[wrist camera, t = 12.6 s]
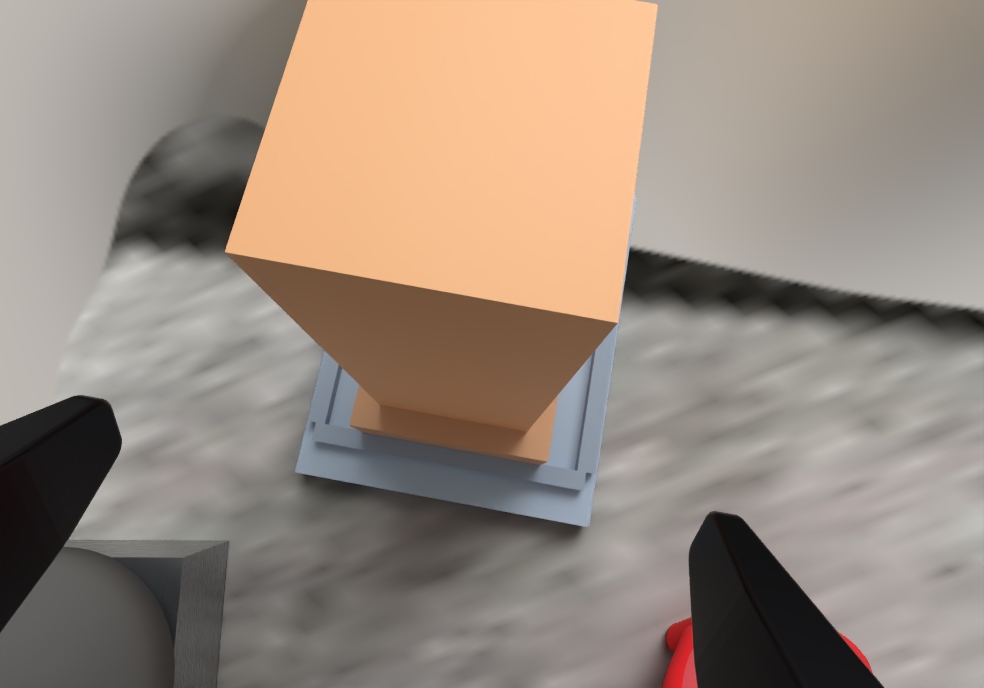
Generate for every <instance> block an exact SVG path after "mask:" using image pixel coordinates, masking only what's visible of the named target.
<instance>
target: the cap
mask: <svg viewBox="0 0 984 688" xmlns="http://www.w3.org/2000/svg"><path fill="white" fill-rule="evenodd" d="M838 633H839V632H838ZM839 634H840V635H841V636H842V638H843V639H844V640H845V641H846V642H847V644H848V645H849V646H850V647H851V648H852V650H853V651H854V652H855V653H856V654H857V656H858V657H859V658H860V659H861V660H862V661H863V663H864V664H865V665H866V666H867V667H868V669H869V670H870V671H871V672H872V670H871V667H870V664H869V662H868V660H867V659H866V657H865V656H864V655H863V654H862V652H861V651H860V650H859V649H858V648H857V646H856V645H855V644H853V643H852V642H851V641H850V640H849V639H848V638H846V637H845V636H843V635H842V634H841V633H839ZM666 640H667V644H668V647H669V648H670V649H671V650H672V651H674V654H673V657H672V659H671V661H670V664H669V666H668V669H667V672H666V675H665V678H664V682H663V686H662V688H698V687H697V680H696V672H695V665H694V652H693V636H692V617H691V618H688V619H686V620H683V621H681V622H678V623H675V624H673V625H671V627H670V628H669V629H668V632H667V636H666Z"/></svg>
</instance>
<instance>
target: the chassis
mask: <svg viewBox="0 0 984 688" xmlns="http://www.w3.org/2000/svg"><path fill="white" fill-rule="evenodd" d="M636 200H637V195H634V200H633V208H632V216H631V224H630V232H629V240H628V248H627V256H626V263H625V271H624V279H623V287H622V295H621V303H622V296H623V289H624V282H625V276H626V269H627V262H628V255H629V248H630V241H631V234H632V227H633V220H634V213H635V206H636ZM621 303H620V310H621ZM619 317H620V311H619ZM618 324H619V319H618ZM618 324H617V325H616V326H615V327H614V328H613V330H612V331H611V332H610V333H609V334H608V336H607V337H606V338H605V339H604V340H603V342H602V343H601V344H600V345H599V346H598V348H597V349H596V350H595V351H594V352H593V354H592V355H591V356H590V357H589V358H588V360H587V361H586V362H585V363H584V364H583V366H582V367H581V368H580V369H579V370H578V372H577V373H576V374H575V375H574V376H573V378H572V379H571V380H570V381H569V382H568V384H567V385H566V386H565V387H564V388H563V390H562V391H561V392H560V393H559V394H558V398H557V405H556V412H555V419H554V425H553V432H552V439H551V445H550V452H549V459H548V462H546V463H544V464H542V465H536V464H531V463H525V462H520V461H514V460H509V459H503V458H498V457H493V456H487V455H482V454H476V453H471V452H466V451H460V450H455V449H449V448H444V447H438V446H433V445H428V444H422V443H417V442H411V441H406V440H400V439H395V438H390V437H384V436H379V435H373V434H368V433H362V432H360V431H359V430H357V429H355V428H353V427H352V426H350V425H349V424H350V420H351V416H352V412H353V407H354V403H355V399H356V395H357V391H358V387H359V384H358V383H357V382H356V381H355V380H354V379H353V378H352V377H351V376H350V375H349V374H348V373H347V372H346V371H345V370H344V369H343V368H342V367H341V366H340V365H339V364H338V363H337V362H336V361H335V360H334V359H333V358H332V357H331V356H330V355H329V354H328V353H327V352H326V351H325V350H324V353H323V357H322V361H321V365H320V369H319V374H318V378H317V382H316V386H315V390H314V394H313V398H312V403H311V407H310V411H309V415H308V419H307V424H306V428H305V432H304V436H303V441H302V445H301V449H300V453H299V457H298V461H297V466H296V470H295V472H296V473H301V474H307V475H312V476H317V477H323V478H328V479H333V480H339V481H344V482H349V483H355V484H360V485H365V486H371V487H376V488H381V489H387V490H392V491H397V492H403V493H408V494H413V495H419V496H424V497H429V498H435V499H440V500H445V501H451V502H456V503H461V504H467V505H472V506H477V507H483V508H488V509H493V510H499V511H504V512H509V513H515V514H520V515H525V516H531V517H536V518H541V519H547V520H552V521H558V522H563V523H568V524H574V525H579V526H584V527H589V524H590V517H591V510H592V503H593V496H594V490H595V483H596V476H597V469H598V462H599V455H600V448H601V441H602V434H603V427H604V420H605V414H606V407H607V400H608V393H609V386H610V379H611V372H612V365H613V358H614V351H615V345H616V338H617V331H618Z"/></svg>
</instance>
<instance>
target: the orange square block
mask: <svg viewBox="0 0 984 688" xmlns="http://www.w3.org/2000/svg"><path fill="white" fill-rule="evenodd" d="M657 8H658V4H652V3H647V2H641V1H636V0H308V2H307V5H306V8H305V11H304V15H303V18H302V20H301V23H300V26H299V30H298V32H297V35H296V38H295V41H294V44H293V48H292V51H291V54H290V57H289V60H288V63H287V66H286V69H285V72H284V75H283V78H282V81H281V84H280V87H279V90H278V93H277V96H276V99H275V102H274V105H273V108H272V111H271V114H270V117H269V120H268V123H267V126H266V129H265V132H264V135H263V138H262V141H261V144H260V147H259V150H258V153H257V156H256V159H255V162H254V165H253V168H252V171H251V174H250V177H249V180H248V183H247V186H246V189H245V192H244V195H243V198H242V202H241V205H240V208H239V211H238V214H237V217H236V220H235V223H234V226H233V229H232V232H231V235H230V238H229V241H228V244H227V247H226V250H225V253H226V254H227V255H228V256H229V257H230V258H231V259H232V260H233V261H234V262H235V263H236V264H237V265H238V266H239V267H240V268H241V269H242V270H243V271H244V272H245V273H246V274H247V275H248V276H249V277H250V278H252V279H253V280H254V281H255V282H256V283H257V284H258V285H259V286H260V287H261V288H262V289H263V290H264V291H265V292H266V293H267V294H268V295H269V296H270V297H271V298H272V299H273V300H274V301H275V302H276V303H277V304H278V305H279V306H280V307H281V308H282V309H283V310H284V311H285V312H286V313H287V314H288V315H289V316H290V317H291V318H292V319H293V320H294V321H295V322H296V323H297V324H298V325H299V326H300V327H301V328H302V329H303V330H304V331H305V332H306V333H307V334H308V335H309V336H310V337H311V338H312V339H313V340H314V341H315V342H316V343H317V344H318V345H319V346H320V347H321V348H323V349H324V350H325V351H326V352H327V353H328V354H329V355H330V356H331V357H332V358H333V359H334V360H335V361H336V362H337V363H338V364H339V365H340V366H341V367H342V368H343V369H344V370H345V371H346V372H347V373H348V374H349V375H350V376H351V377H352V378H353V379H354V380H355V381H356V382H357V383H358V384H359V387H358V391H357V395H356V399H355V403H354V407H353V412H352V416H351V420H350V424H349V425H350V426H352V427H353V428H355V429H357V430H359V431H360V432H362V433H368V434H373V435H379V436H384V437H390V438H395V439H400V440H406V441H411V442H417V443H422V444H428V445H433V446H438V447H444V448H449V449H455V450H460V451H466V452H471V453H476V454H482V455H487V456H493V457H498V458H503V459H509V460H514V461H520V462H525V463H531V464H536V465H542V464H544V463H546V462H548V459H549V452H550V445H551V439H552V432H553V425H554V419H555V412H556V405H557V398H558V394H559V393H560V392H561V391H562V390H563V388H564V387H565V386H566V385H567V384H568V382H569V381H570V380H571V379H572V378H573V376H574V375H575V374H576V373H577V372H578V370H579V369H580V368H581V367H582V366H583V364H584V363H585V362H586V361H587V360H588V358H589V357H590V356H591V355H592V354H593V352H594V351H595V350H596V349H597V348H598V346H599V345H600V344H601V343H602V342H603V340H604V339H605V338H606V337H607V336H608V334H609V333H610V332H611V331H612V330H613V328H614V327H615V326H616V325H617V324H618V319H619V311H620V303H621V295H622V287H623V279H624V271H625V263H626V256H627V248H628V240H629V232H630V224H631V216H632V208H633V200H634V192H635V183H636V176H637V168H638V160H639V151H640V144H641V136H642V128H643V119H644V112H645V104H646V96H647V88H648V80H649V72H650V64H651V56H652V48H653V40H654V32H655V24H656V16H657Z"/></svg>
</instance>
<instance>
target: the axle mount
mask: <svg viewBox="0 0 984 688" xmlns="http://www.w3.org/2000/svg"><path fill="white" fill-rule="evenodd" d="M64 547H76V548H82V549H87V550H92V551H95V552H98V553H101V554H103V555H106V556H109V557H111V558H113V559H114V560H116V561H118V562H120V563H122V564H123V565H125V566H126V567H127V568H129V569H130V570H131V571H132V572H134V573H135V574H136V575H137V576H138V577H139V578H140V579H141V580H142V581H143V582H144V583H145V584H146V585H147V586H148V588H149V589H150V591H151V592H152V593H153V595H154V596H155V597H156V599H157V601H158V603H159V605H160V607H161V608H162V610H163V612H164V615H165V617H166V620H167V623H168V626H169V628H170V633H171V637H172V642H173V647H174V659H175V675H174V687H173V688H216V681H217V669H218V658H219V646H220V635H221V623H222V611H223V600H224V588H225V576H226V565H227V553H228V541H120V540H67V542H66V543H65V545H64Z"/></svg>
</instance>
